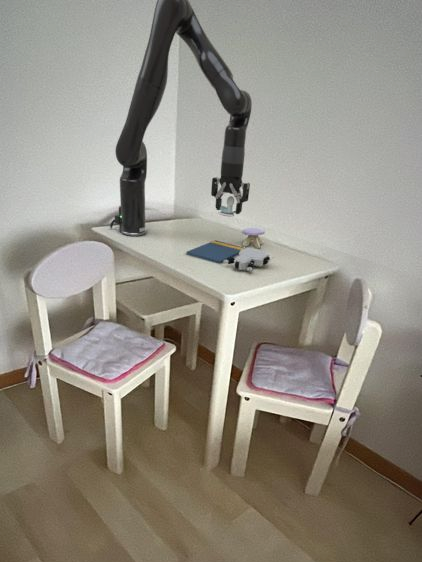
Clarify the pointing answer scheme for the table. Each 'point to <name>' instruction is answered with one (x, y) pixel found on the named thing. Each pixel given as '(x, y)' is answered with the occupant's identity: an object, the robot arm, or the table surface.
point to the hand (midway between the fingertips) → (228, 211)
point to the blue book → (215, 251)
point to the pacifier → (228, 208)
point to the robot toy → (249, 259)
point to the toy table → (253, 236)
